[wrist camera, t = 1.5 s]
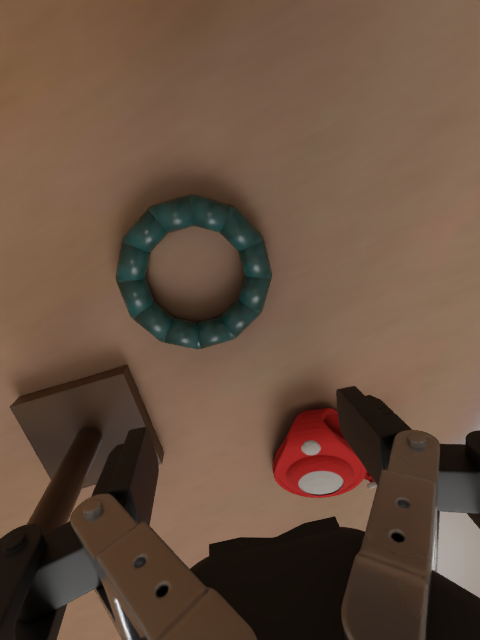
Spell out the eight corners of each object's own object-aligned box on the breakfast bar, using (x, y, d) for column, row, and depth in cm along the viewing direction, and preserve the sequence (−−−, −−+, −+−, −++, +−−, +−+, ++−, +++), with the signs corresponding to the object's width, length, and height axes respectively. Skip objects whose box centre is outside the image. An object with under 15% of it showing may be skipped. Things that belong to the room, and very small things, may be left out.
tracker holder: (284, 515, 33) (258, 453, 27) (282, 471, 36) (258, 410, 31) (420, 502, 30) (419, 432, 25) (402, 457, 34) (399, 387, 29)
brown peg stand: (18, 396, 28) (-220, 639, 12) (127, 365, 28) (32, 562, 12) (66, 482, 30) (-77, 768, 15) (164, 452, 31) (125, 704, 15)
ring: (97, 221, 24) (89, 222, 22) (246, 179, 25) (250, 176, 23) (151, 357, 28) (147, 368, 26) (281, 319, 28) (286, 327, 26)
